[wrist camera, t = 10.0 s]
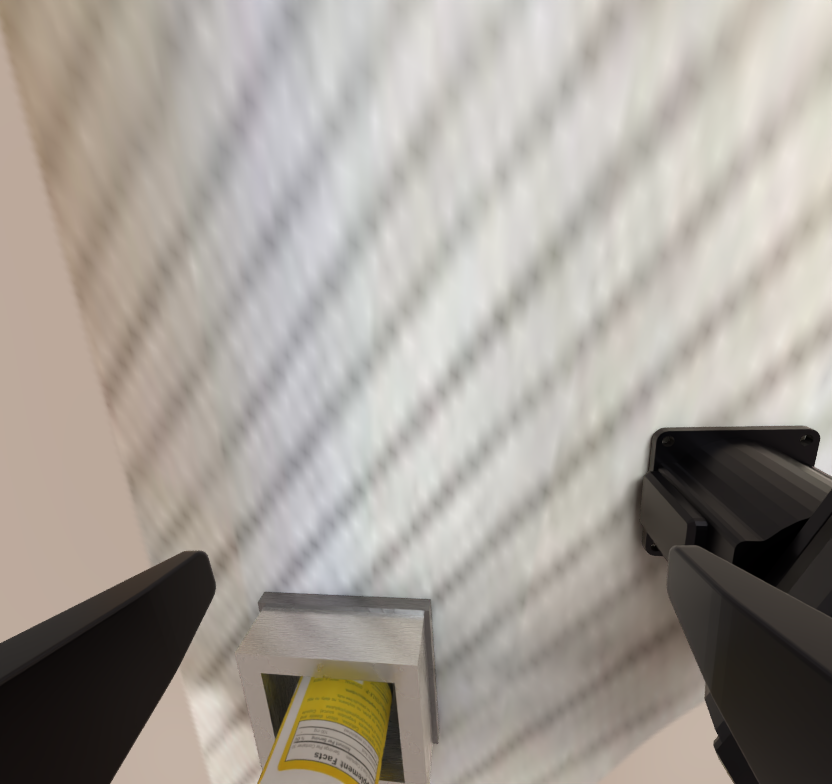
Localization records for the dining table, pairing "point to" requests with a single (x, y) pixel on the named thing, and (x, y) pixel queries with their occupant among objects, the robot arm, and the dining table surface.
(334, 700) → the supplement bottle
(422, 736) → the socket collar
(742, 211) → the dining table surface
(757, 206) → the dining table surface
